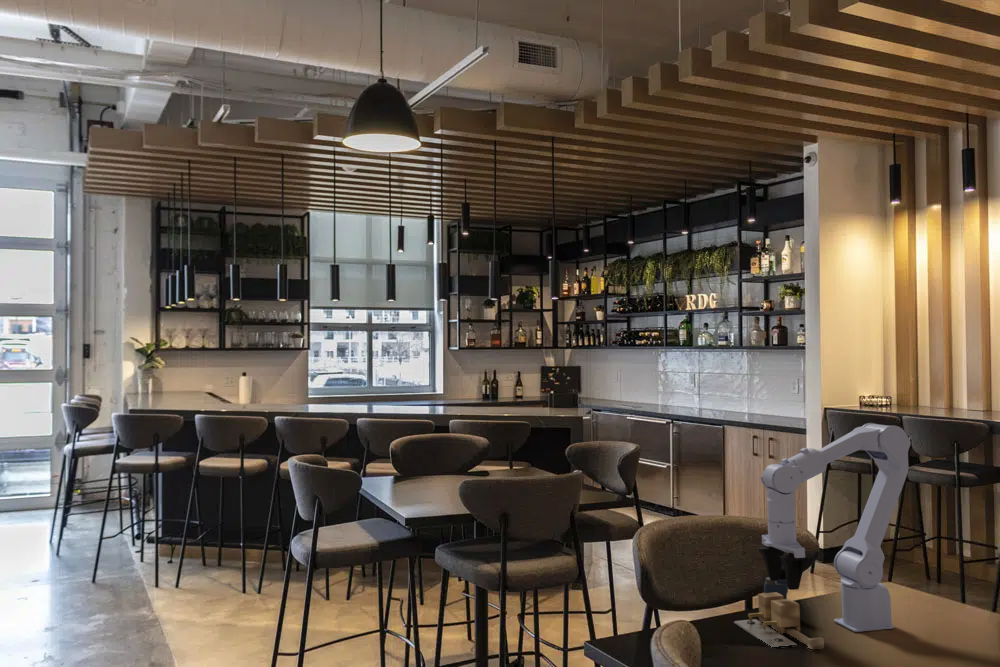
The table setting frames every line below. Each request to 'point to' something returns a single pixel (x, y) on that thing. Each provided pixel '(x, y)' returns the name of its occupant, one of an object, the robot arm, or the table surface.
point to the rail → (805, 638)
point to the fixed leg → (765, 606)
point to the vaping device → (777, 584)
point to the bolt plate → (764, 633)
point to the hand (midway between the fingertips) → (784, 584)
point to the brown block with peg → (784, 615)
